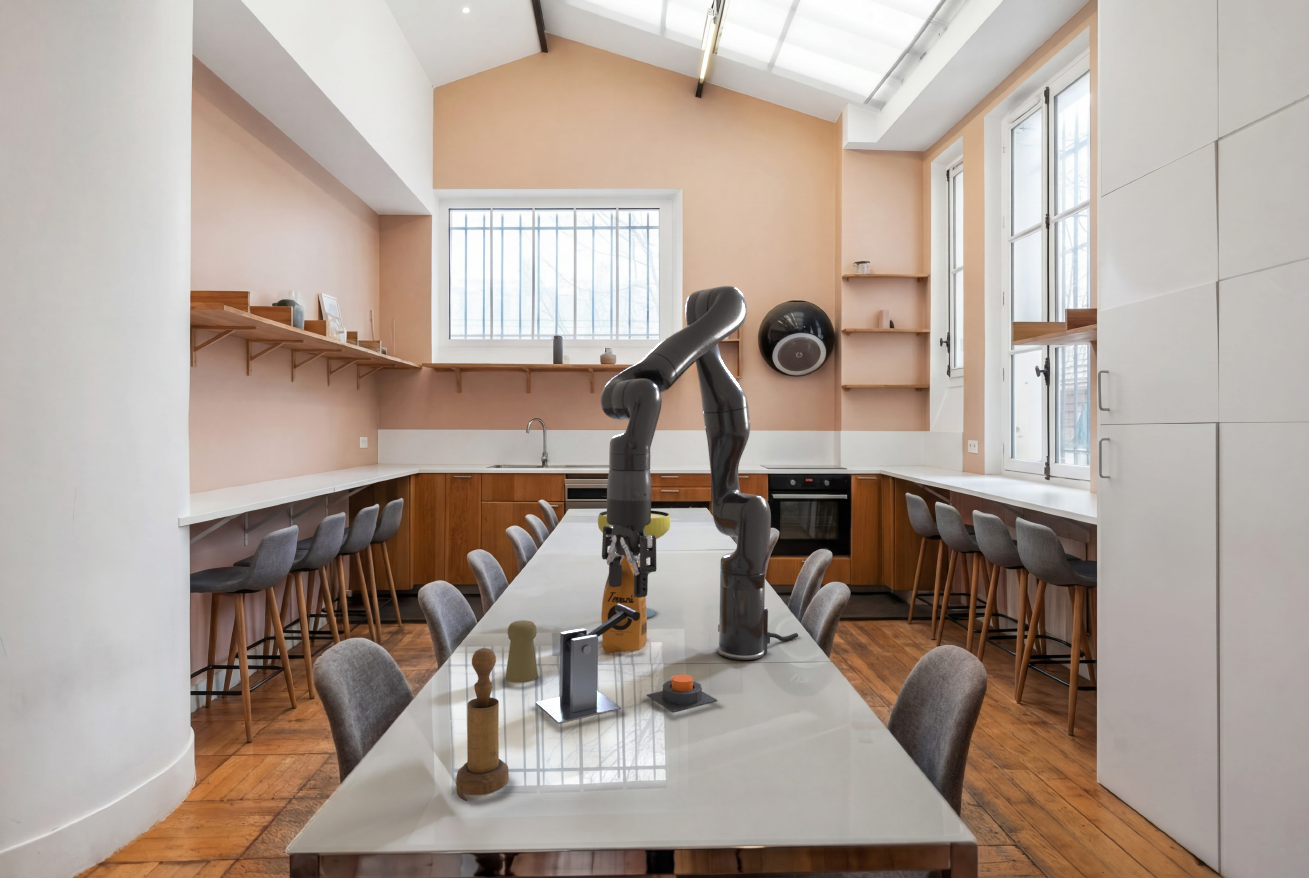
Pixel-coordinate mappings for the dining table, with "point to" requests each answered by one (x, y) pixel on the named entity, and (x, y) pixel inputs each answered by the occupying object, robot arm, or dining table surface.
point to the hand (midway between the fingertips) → (627, 591)
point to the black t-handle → (611, 621)
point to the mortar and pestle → (482, 735)
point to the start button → (682, 682)
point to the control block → (681, 697)
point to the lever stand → (578, 681)
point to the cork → (521, 652)
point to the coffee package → (627, 631)
